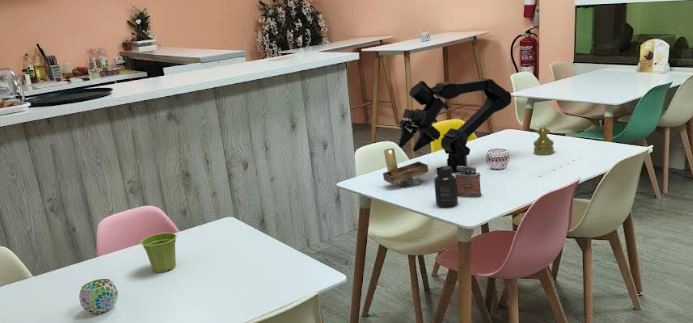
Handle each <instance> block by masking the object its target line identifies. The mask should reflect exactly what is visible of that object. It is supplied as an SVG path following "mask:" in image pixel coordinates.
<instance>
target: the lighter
mask: <svg viewBox="0 0 693 323" xmlns="http://www.w3.org/2000/svg"><path fill="white" fill-rule="evenodd" d="M457 171H461V172H454V176H455V177H456V183H457V196H458V197H459V198H471V199H472V198H474V199H475V198H481V197H482V189H481V173H480V172H477V167H476V166H471V165H468V164H467V167H464V166H457ZM463 171H465V172H463Z"/></svg>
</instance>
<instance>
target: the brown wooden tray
mask: <svg viewBox="0 0 693 323" xmlns="http://www.w3.org/2000/svg"><path fill="white" fill-rule="evenodd" d="M429 171H430V170H429V167H428V164H426V163H423V162H421V161H416V162H413V163H409V164H406V165H403V166H400V167H398V172H399V174H397V175H394V176H389V175H388V171H386V172H383V173H382V175H383V181H385V182H387V183H389V184H391V185H396V184H395V183H398V182H401V181H404V180H407V179H410V178H413V179H414V178H415V177H418V176H421V175H425V174H427V173H429Z"/></svg>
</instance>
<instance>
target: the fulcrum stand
mask: <svg viewBox="0 0 693 323" xmlns="http://www.w3.org/2000/svg"><path fill="white" fill-rule="evenodd" d="M394 185H396V186H399V187H401V188H403V189H410V188H413V187H418V186H420V185H421V183H420V182H418V181H416V180H414V177H413V178H410V179H407V180H404V181H401V182H398V183H395V184H394Z"/></svg>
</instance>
